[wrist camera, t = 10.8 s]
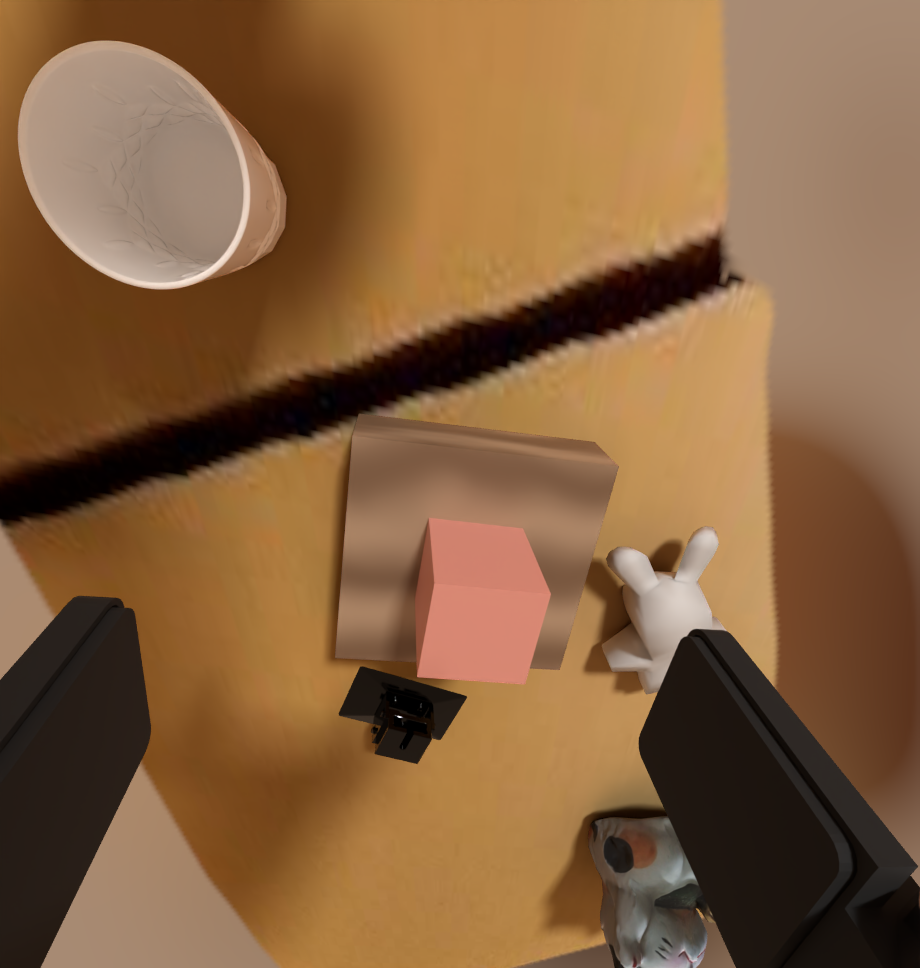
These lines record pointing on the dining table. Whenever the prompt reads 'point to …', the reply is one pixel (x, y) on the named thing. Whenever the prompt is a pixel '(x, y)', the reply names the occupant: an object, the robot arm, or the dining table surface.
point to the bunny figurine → (659, 608)
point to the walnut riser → (468, 498)
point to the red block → (478, 603)
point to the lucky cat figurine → (648, 894)
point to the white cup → (145, 168)
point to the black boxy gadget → (400, 712)
